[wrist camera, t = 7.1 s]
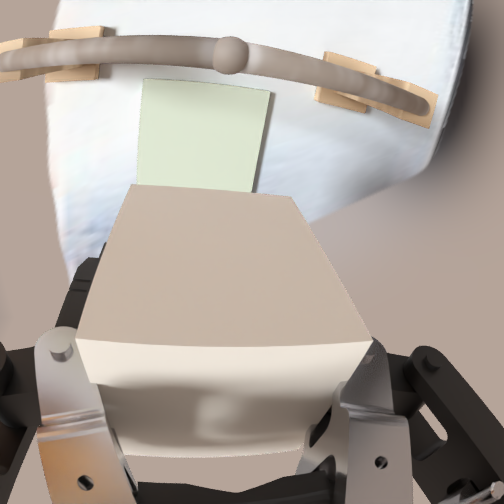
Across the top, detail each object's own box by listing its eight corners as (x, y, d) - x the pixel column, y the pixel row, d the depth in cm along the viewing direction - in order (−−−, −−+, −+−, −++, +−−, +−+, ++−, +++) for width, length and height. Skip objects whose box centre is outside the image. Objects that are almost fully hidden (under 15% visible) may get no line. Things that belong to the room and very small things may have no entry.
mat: (144, 78, 20) (143, 79, 19) (269, 91, 22) (270, 91, 21) (137, 192, 24) (136, 194, 24) (248, 200, 26) (249, 202, 26)
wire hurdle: (54, 31, 16) (-84, 36, 4) (370, 65, 21) (517, 106, 9) (50, 81, 18) (-86, 136, 6) (359, 110, 23) (492, 185, 11)
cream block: (131, 184, 9) (75, 338, 4) (291, 196, 10) (373, 340, 5) (135, 306, 12) (120, 453, 7) (261, 311, 13) (297, 449, 8)
